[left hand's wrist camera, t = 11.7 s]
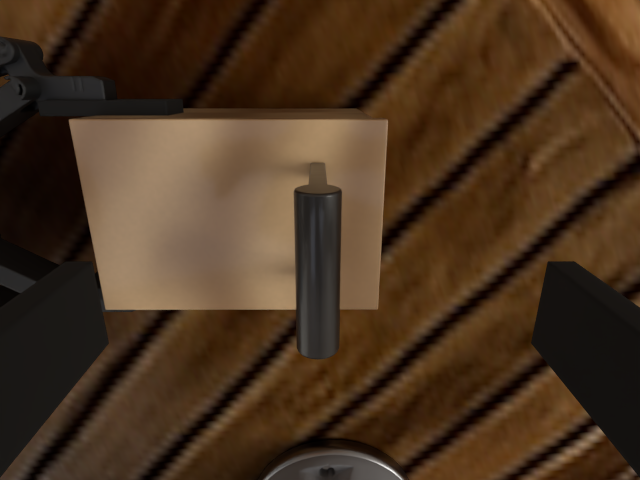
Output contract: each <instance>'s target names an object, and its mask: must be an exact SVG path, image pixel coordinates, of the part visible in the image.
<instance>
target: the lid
mask: <svg viewBox="0 0 640 480" xmlns="http://www.w3.org/2000/svg"><path fill="white" fill-rule="evenodd" d="M69 125H70V130H71V135H72V140H73V145H74V150H75V155H76V161H77V166H78V171H79V176H80V181H81V186H82V191H83V197H84V202H85V207H86V212H87V217H88V222H89V227H90V233H91V238H92V243H93V248H94V253H95V258H96V263H97V269H98V274H99V279H100V284H101V289H102V294H103V299H104V305H105V309H106V310H281V309H296V332H297V349H298V351H299V352H300V354H302V355H303V356H305V357H307V358H311V359H325V358H329V357H331V356H333V355H334V354H335V353H336V352H337V351H338V349H339V327H340V309H378V298H379V280H380V261H381V243H382V224H383V205H384V187H385V168H386V149H387V131H388V120H387V119H385V118H74V119H69Z"/></svg>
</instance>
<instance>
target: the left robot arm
mask: <svg viewBox="0 0 640 480" xmlns="http://www.w3.org/2000/svg"><path fill="white" fill-rule="evenodd" d="M108 344H109V342H108V337H107V332H106V327H105V322H104V317H103V312H102V307H101V302H100V298H99V293H98V288H97V283H96V278H95V273H94V268H93V263H92V262H64V263H63V264H61V265H60V266H59V267H57V268H56V269H54V270H53V271H51V272H50V273H49V274H47V275H46V276H44V277H43V278H42V279H40V280H39V281H37V282H36V283H34V284H33V285H32V286H30V287H29V288H27V289H26V290H24V291H23V292H22V293H20V294H19V295H17V296H16V297H15V298H13V299H12V300H10V301H9V302H7V303H6V304H5V305H3V306H2V307H0V477H1V476H2V474H3V473H4V472H5V471H6V470H7V468H8V467H9V466H10V465H11V463H12V462H13V461H14V460H15V458H16V457H17V456H18V455H19V453H20V452H21V451H22V450H23V449H24V447H25V446H26V445H27V444H28V442H29V441H30V440H31V439H32V437H33V436H34V435H35V434H36V432H37V431H38V430H39V429H40V428H41V426H42V425H43V424H44V423H45V421H46V420H47V419H48V418H49V416H50V415H51V414H52V413H53V411H54V410H55V409H56V408H57V407H58V405H59V404H60V403H61V402H62V400H63V399H64V398H65V397H66V395H67V394H68V393H69V392H70V390H71V389H72V388H73V387H74V386H75V384H76V383H77V382H78V381H79V379H80V378H81V377H82V376H83V374H84V373H85V372H86V371H87V369H88V368H89V367H90V366H91V365H92V363H93V362H94V361H95V360H96V358H97V357H98V356H99V355H100V353H101V352H102V351H103V350H104V348H105V347H106V346H107V345H108ZM531 344H532V345H533V346H534V347H535V348H536V350H537V351H538V352H539V353H540V355H541V356H542V357H543V358H544V360H545V361H546V362H547V363H548V365H549V366H550V367H551V368H552V369H553V371H554V372H555V373H556V374H557V376H558V377H559V378H560V379H561V381H562V382H563V383H564V384H565V386H566V387H567V388H568V389H569V390H570V392H571V393H572V394H573V395H574V397H575V398H576V399H577V400H578V402H579V403H580V404H581V405H582V407H583V408H584V409H585V410H586V411H587V413H588V414H589V415H590V416H591V418H592V419H593V420H594V421H595V423H596V424H597V425H598V426H599V428H600V429H601V430H602V431H603V432H604V434H605V435H606V436H607V437H608V439H609V440H610V441H611V442H612V444H613V445H614V446H615V447H616V449H617V450H618V451H619V452H620V453H621V455H622V456H623V457H624V458H625V460H626V461H627V462H628V463H629V465H630V466H631V467H632V468H633V470H634V471H635V472H636V473H637V474H638V476H639V477H640V307H638V306H637V305H635V304H634V303H633V302H631V301H630V300H628V299H627V298H625V297H624V296H623V295H621V294H620V293H618V292H617V291H615V290H614V289H613V288H611V287H610V286H608V285H607V284H606V283H604V282H603V281H601V280H600V279H598V278H597V277H596V276H594V275H593V274H591V273H590V272H589V271H587V270H586V269H584V268H583V267H581V266H580V265H579V264H577V263H576V262H548V263H547V268H546V273H545V278H544V283H543V288H542V293H541V298H540V302H539V307H538V312H537V317H536V322H535V327H534V332H533V337H532V342H531ZM258 480H409V479H408V477H407V475H406V473H405V472H404V471H403V469H402V468H401V467H400V466H399V464H398V463H397V462H396V461H394V460H393V459H392V458H391V457H389V456H388V455H387V454H385V453H383V452H382V451H380V450H378V449H376V448H373V447H371V446H368V445H365V444H362V443H358V442H353V441H345V440H323V441H316V442H310V443H307V444H303V445H300V446H297V447H295V448H292V449H290V450H288V451H286V452H285V453H283V454H281V455H280V456H278V457H277V458H275V459H274V460H273V461H272V462H271V463H270V464H269V465H268V466H267V467H266V468H265V469H264V471H263V472H262V473H261V475H260V477H259V479H258Z"/></svg>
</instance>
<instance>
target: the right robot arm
mask: <svg viewBox="0 0 640 480" xmlns="http://www.w3.org/2000/svg"><path fill="white" fill-rule="evenodd" d="M42 60H43V52H42V49H41V48H40V46H39V45H37V44H36V43H34V42H31V41H25V40H19V39H12V38H6V37H0V77H2V76H5V75H8V74H9V76H6V77H4V78H5V80H10V81H9V82H7V83H6V84H4V85H3V86H2V87H0V137H2V136H3V135H5V134H6V133H8V132H9V131H11V130H12V129H14V128H15V127H17V126H18V125H20V124H21V123H23V122H24V121H26V120H27V119H29V118H30V117H32V116H33V115H35V114H36V113H38V112H39V113H40V116H168V115H173V114H179V113H184V110H183V101H182V99H117V94H116V87H115V81H114V80H111V79H109V78H106V77H97V76H56V75H53V74H52V73H51V72H50V71H49V70H48V69H47V68H46V66H45V65H44V63H43V61H42ZM0 236H1V234H0ZM59 266H60V265H58V264H55V263H53V262H51V261H49V260H47V259H45V258H42V257H40V256H38V255H36V254H34V253H32V252H29V251H27V250H25V249H23V248H21V247H19V246H16V245H14V244H12V243H10V242H8V241H5V240H3V239H2V238H1V237H0V284H1V285H0V307H2V306H3V305H5V304H6V303H7V302H9V301H10V300H12V299H13V298H15V297H16V296H17V295H19V294H20V293H22V292H23V291H24V290H26V289H27V288H29V287H30V286H32V285H33V284H34V283H36V282H37V281H39V280H40V279H42V278H43V277H44V276H46V275H47V274H49V273H50V272H51V271H53V270H54V269H56V268H57V267H59ZM95 278H96V283H97V288H98V293H99V298H100V302H101V307H102V312H115V311H116V312H122V311H123V312H132V311H135V310H106V309H105V305H104V299H103V294H102V289H101V284H100V279H99V274H98V272H97V273H95ZM2 285H3V286H2Z"/></svg>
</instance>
